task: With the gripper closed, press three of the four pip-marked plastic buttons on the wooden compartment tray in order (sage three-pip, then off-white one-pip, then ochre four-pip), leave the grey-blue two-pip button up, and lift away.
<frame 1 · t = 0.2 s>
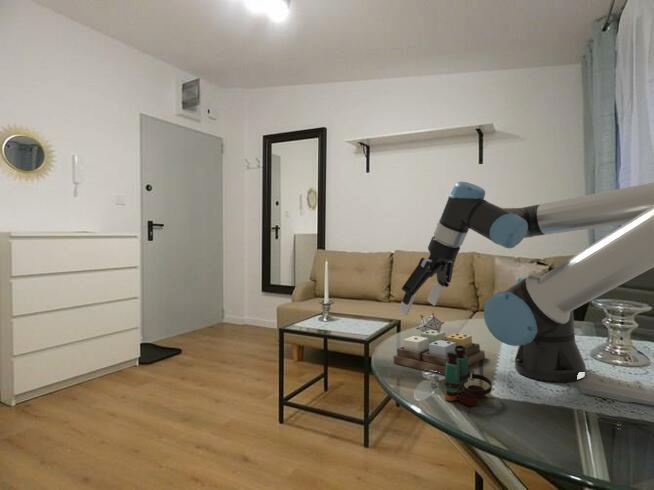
hand: (417, 307, 108), 16 cm above the table, tool tilted 30°, fingers open, 13 cm apart
button three: (434, 347, 115), point 2 cm above the table, slide at 0.0 cm
button four: (460, 352, 108), point 2 cm above the table, slide at 0.0 cm
button two: (443, 360, 103), point 2 cm above the table, slide at 0.0 cm
binoculars: (469, 399, 83), on the table
wooden compartment tray: (438, 360, 109), on the table
game die: (431, 337, 134), on the table
button one: (417, 354, 109), point 2 cm above the table, slide at 0.0 cm
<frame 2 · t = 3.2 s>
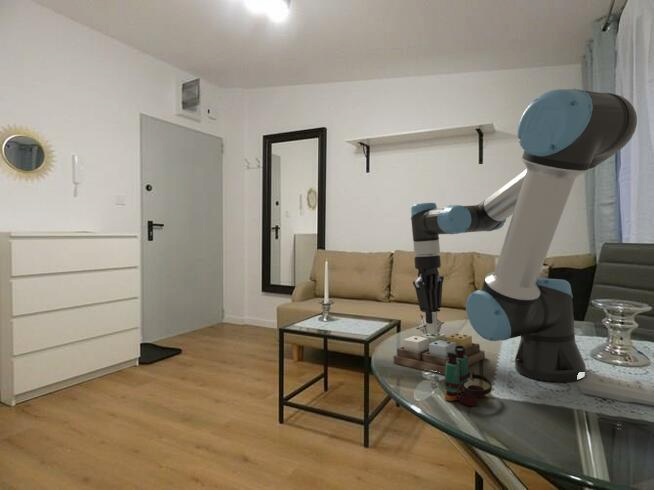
hand: (432, 333, 115), 6 cm above the table, tool pointing down, fingers closed
button three: (434, 350, 115), point 1 cm above the table, slide at 0.8 cm, touching gripper
everything else where it was.
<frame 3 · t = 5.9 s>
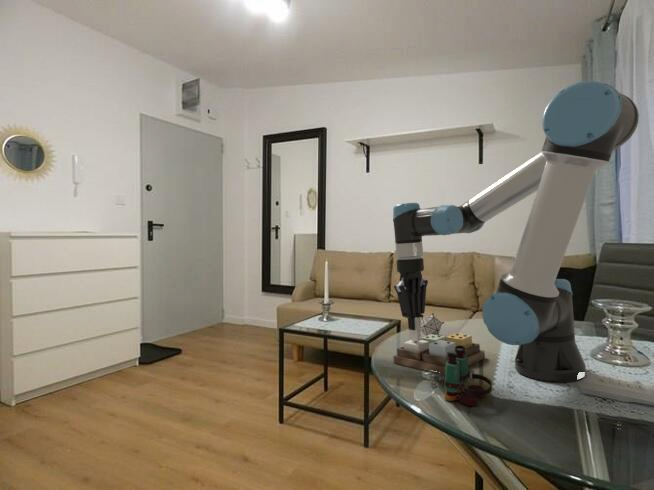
hand: (415, 340, 109), 6 cm above the table, tool pointing down, fingers closed
button three: (434, 352, 115), point 1 cm above the table, slide at 1.4 cm
button one: (417, 357, 109), point 1 cm above the table, slide at 0.9 cm, touching gripper
everything else where it was.
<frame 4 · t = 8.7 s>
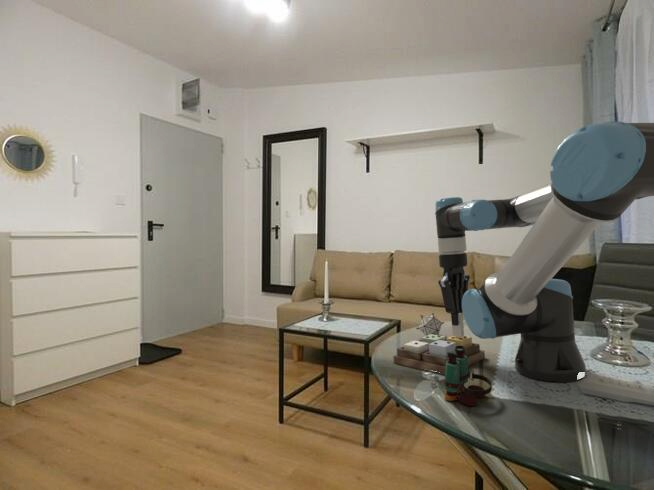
hand: (458, 335, 108), 7 cm above the table, tool pointing down, fingers closed
button four: (460, 353, 108), point 2 cm above the table, slide at 0.4 cm, touching gripper
button one: (417, 359, 109), point 1 cm above the table, slide at 1.4 cm
everything else where it was.
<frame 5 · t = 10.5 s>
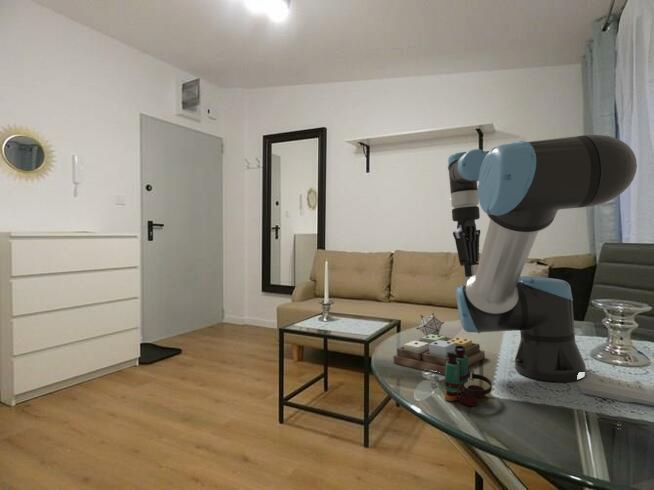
hand: (471, 287, 112), 19 cm above the table, tool pointing down, fingers closed
button four: (460, 356, 108), point 1 cm above the table, slide at 1.2 cm
everything else where it was.
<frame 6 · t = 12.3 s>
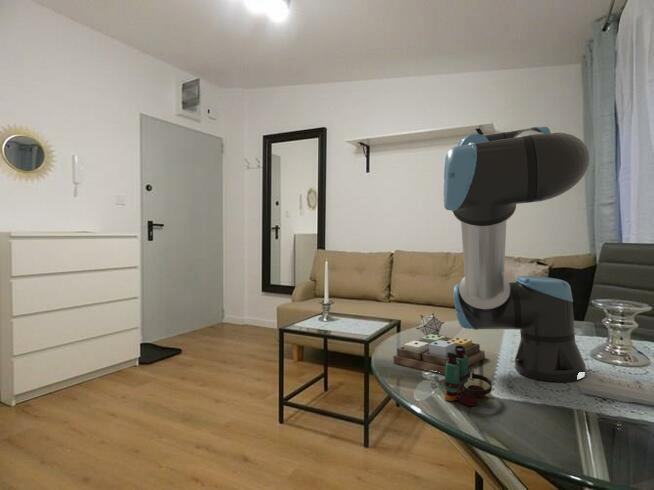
hand: (480, 268, 115), 24 cm above the table, tool pointing down, fingers closed
nothing on the table moved.
at the end: button three slide at 1.4 cm; button four slide at 1.2 cm; button two slide at 0.0 cm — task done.
